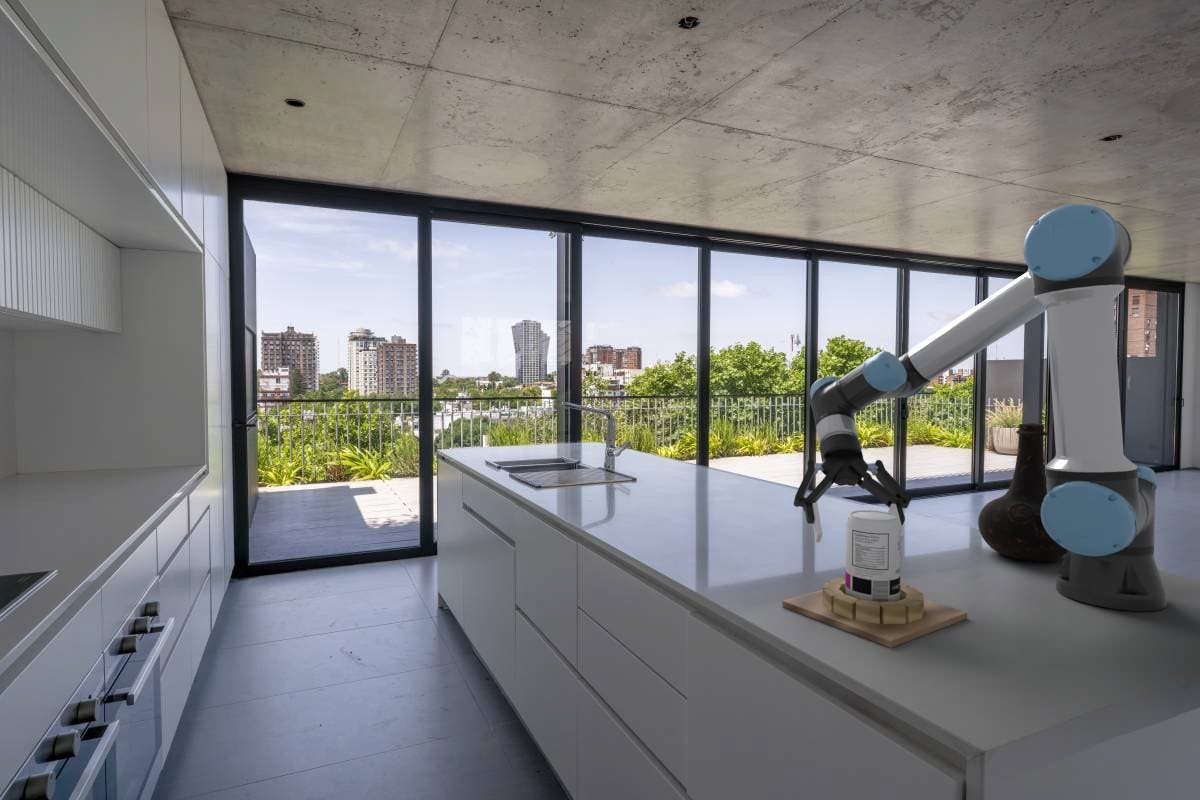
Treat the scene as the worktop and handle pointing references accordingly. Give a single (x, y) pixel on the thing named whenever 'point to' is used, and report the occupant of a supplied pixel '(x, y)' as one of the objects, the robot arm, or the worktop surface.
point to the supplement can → (873, 556)
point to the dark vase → (1022, 506)
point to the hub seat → (876, 613)
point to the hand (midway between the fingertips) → (859, 539)
